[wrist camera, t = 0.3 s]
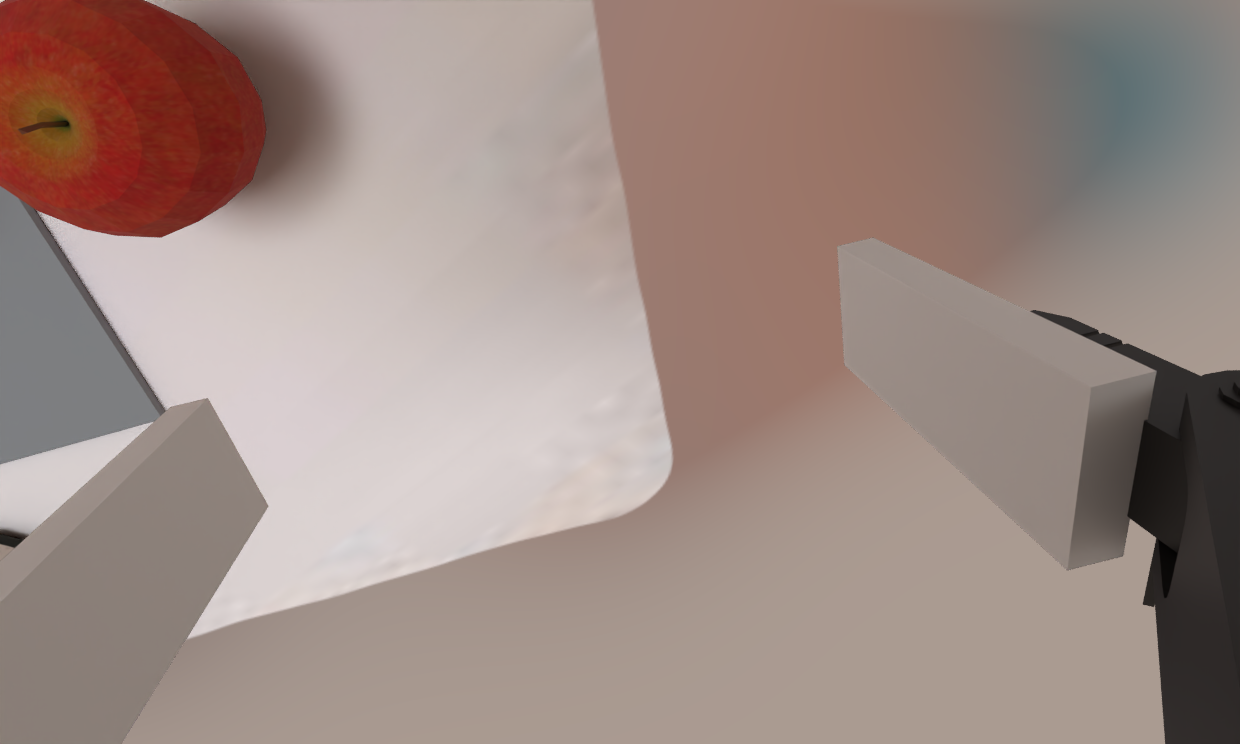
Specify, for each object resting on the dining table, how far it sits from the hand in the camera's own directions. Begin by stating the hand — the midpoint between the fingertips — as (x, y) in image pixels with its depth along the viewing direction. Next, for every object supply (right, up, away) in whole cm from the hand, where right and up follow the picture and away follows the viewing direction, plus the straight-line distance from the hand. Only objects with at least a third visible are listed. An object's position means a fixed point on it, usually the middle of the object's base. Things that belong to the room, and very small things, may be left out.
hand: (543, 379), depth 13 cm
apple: (-21, +14, +21) cm, 33 cm away
